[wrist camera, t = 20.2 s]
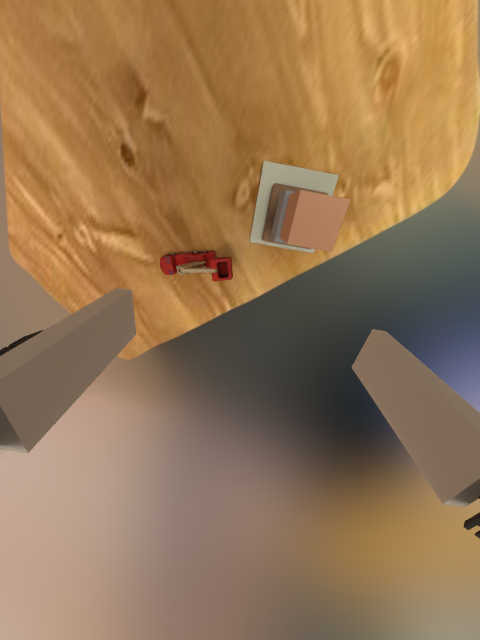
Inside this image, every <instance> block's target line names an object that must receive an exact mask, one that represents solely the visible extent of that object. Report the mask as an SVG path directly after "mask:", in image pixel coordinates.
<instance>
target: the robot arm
mask: <svg viewBox="0 0 480 640" xmlns="http://www.w3.org/2000/svg"><path fill="white" fill-rule="evenodd" d="M135 335H136V328H135V318H134V307H133V297H132V290H127V289H121V288H116V289H114V290H112V291H111V292H109V293H107V294H106V295H104V296H102V297H100V298H99V299H97V300H95V301H94V302H92V303H90V304H89V305H87V306H85V307H83V308H82V309H80V310H78V311H77V312H75V313H73V314H71V315H70V316H68V317H66V318H65V319H63V320H61V321H60V322H58V323H56V324H54V325H53V326H51V327H49V328H47V329H46V330H42V331H39V332H36V333H33V334H30V335H28V336H24V337H23V338H21V339H19V340H17V341H15V342H14V343H12V344H10V345H9V347H5V348H3V349H2V350H0V449H1V450H6V451H14V452H23V453H29V452H30V451H31V449H32V448H33V447H34V446H35V445H36V444H37V443H38V442H39V441H40V439H41V438H42V437H43V436H44V435H45V434H46V433H47V432H48V431H49V430H50V429H51V427H52V426H53V425H54V424H55V423H56V422H57V421H58V420H59V419H60V417H61V416H62V415H63V414H64V413H65V412H66V411H67V410H68V409H69V407H71V405H72V404H73V403H74V402H75V401H76V400H77V399H78V398H79V396H81V394H82V393H83V392H84V391H85V390H86V389H87V388H88V387H89V386H90V385H91V383H92V382H93V381H94V380H95V379H96V378H97V377H98V376H99V375H100V374H101V372H102V371H103V370H104V369H105V368H106V367H107V366H108V365H109V363H110V362H111V361H112V360H113V359H114V358H115V357H116V356H117V355H118V354H119V353H120V352H121V350H122V349H123V348H124V347H125V346H126V345H127V344H128V343H129V342H130V341H131V339H132V338H133V337H134V336H135ZM352 368H353V370H354V371H355V373H356V374H357V376H358V377H359V379H360V380H361V382H362V383H363V385H364V386H365V388H366V389H367V391H368V392H369V394H370V395H371V397H372V398H373V400H374V401H375V403H376V404H377V406H378V407H379V409H380V410H381V412H382V413H383V415H384V416H385V418H386V419H387V421H388V422H389V424H390V425H391V427H392V428H393V430H394V431H395V433H396V434H397V436H398V438H399V439H400V441H401V442H402V444H403V445H404V446H405V448H406V450H407V451H408V453H409V454H410V456H411V457H412V459H413V460H414V462H415V463H416V465H417V466H418V468H419V469H420V470H421V472H422V473H423V475H424V477H425V478H426V480H427V481H428V482H429V484H430V485H431V487H432V489H433V490H434V492H435V493H436V495H437V496H438V498H439V499H440V500H441V502H442V503H443V504H444V505H453V506H461V507H466V506H467V505H469V504H470V503H472V502H473V501H475V500H477V499H478V498H479V499H480V413H479V412H478V411H477V410H476V409H474V408H473V407H472V406H471V405H470V404H469V403H468V402H466V401H465V400H464V399H463V398H462V397H461V396H460V395H458V394H457V393H456V392H455V391H454V390H453V389H451V388H450V387H449V386H448V385H447V384H446V383H445V382H443V381H442V380H441V379H440V378H439V377H438V376H436V375H435V374H434V373H433V372H432V371H431V370H430V369H428V368H427V367H426V366H425V365H424V364H423V363H422V362H420V361H419V360H418V359H417V358H416V357H415V356H414V355H412V354H411V353H410V352H409V351H408V350H407V349H406V348H404V347H403V346H402V345H401V344H400V343H399V342H397V341H396V340H395V339H394V338H393V337H392V336H391V335H389V334H388V333H387V332H385V331H380V330H374V329H373V330H372V332H371V333H370V335H369V337H368V339H367V340H366V342H365V344H364V346H363V348H362V350H361V351H360V353H359V355H358V357H357V359H356V361H355V363H354V364H353V366H352ZM476 525H478V526H480V513H478V514H476V515H475V516H473V517H471V518H470V519H468V520H466V521H465V523H464V527H465V528H466V529H467V530H469V529H471V528H473V527H475V526H476ZM475 535H476V536H477V537H478V538H480V531H478V532H476V533H475Z"/></svg>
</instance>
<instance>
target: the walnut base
mask: <svg viewBox="0 0 480 640" xmlns="http://www.w3.org/2000/svg"><path fill="white" fill-rule="evenodd" d="M286 190H289V191H294V192H297V191H300V190H304V191H309V192H314V193H319V194H325V195H328V193H325V192H320V191H315V190H310V189H304V188H299V187H294V186H289V185H284V184H278V183H274V184H273V185H272V189H271V194H270V199H269V204H268V209H267V214H266V219H265V224H264V229H263V234H262V240H263V241H266V242H272V243H277V244H283V245H288V246H294V247H300V248H305V249H311V248H306V247H301V246H295V245H290V244H284V243H279V242H274V241H273V239H272V238H271V237H270V236H271V231H272V227H273V222H274V218H275V213H276V208H277V204H278V199H279V195H280V193H282V192H284V191H286Z"/></svg>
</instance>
